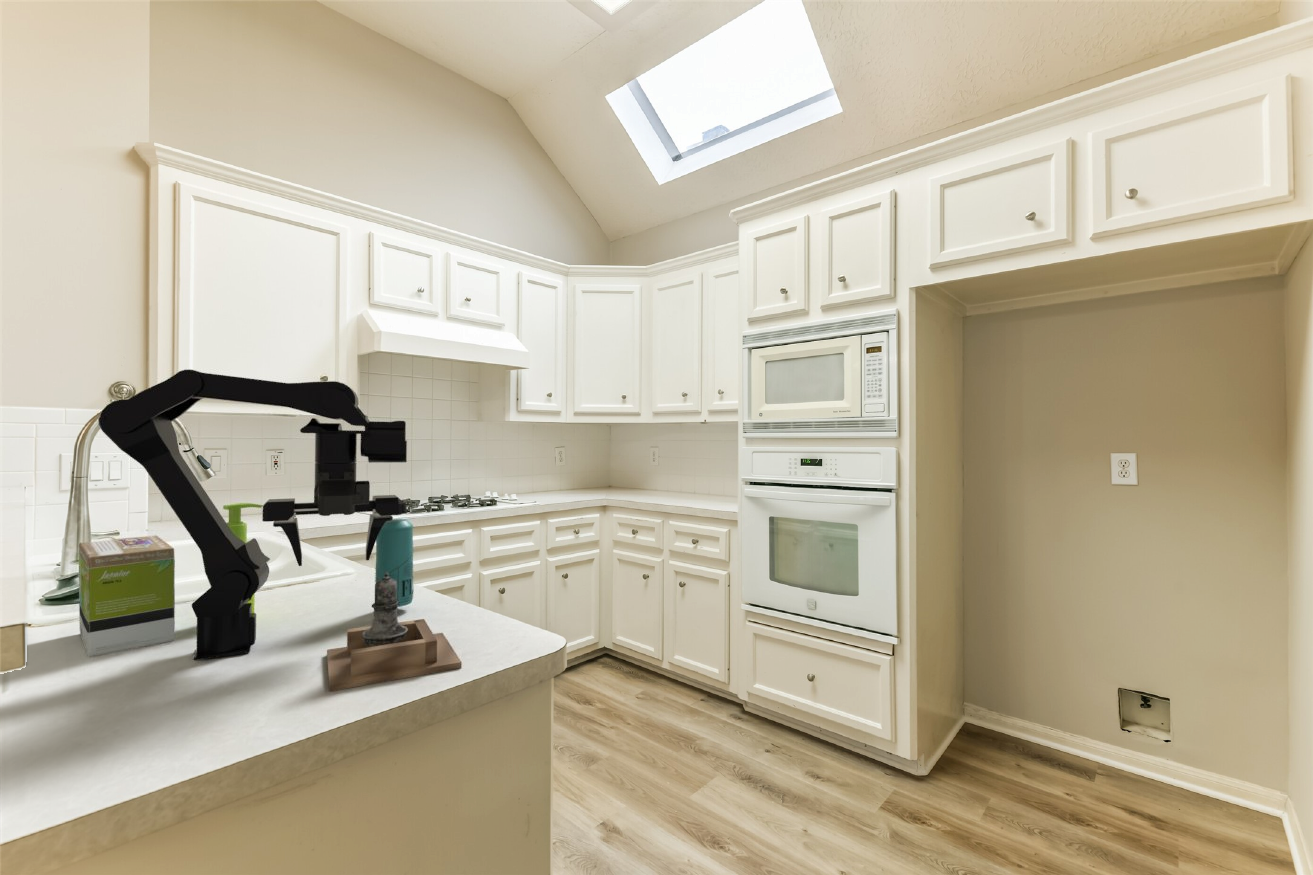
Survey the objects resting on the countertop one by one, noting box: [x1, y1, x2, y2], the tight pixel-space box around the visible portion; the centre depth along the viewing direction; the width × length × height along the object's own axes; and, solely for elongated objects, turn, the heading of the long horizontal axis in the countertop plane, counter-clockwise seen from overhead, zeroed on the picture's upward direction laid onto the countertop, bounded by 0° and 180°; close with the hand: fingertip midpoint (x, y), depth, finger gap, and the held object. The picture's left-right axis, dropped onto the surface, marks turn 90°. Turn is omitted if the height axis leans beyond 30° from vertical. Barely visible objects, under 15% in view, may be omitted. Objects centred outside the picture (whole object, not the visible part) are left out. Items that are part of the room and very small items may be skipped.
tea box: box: [78, 534, 176, 658], centre depth 92 cm, size 15×10×15 cm, turn 48°
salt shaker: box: [362, 572, 408, 647], centre depth 83 cm, size 6×6×12 cm
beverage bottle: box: [374, 501, 415, 608], centre depth 108 cm, size 6×7×20 cm
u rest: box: [326, 618, 463, 692], centre depth 84 cm, size 16×14×4 cm
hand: (334, 562), depth 92 cm, fingers open, 9 cm apart
